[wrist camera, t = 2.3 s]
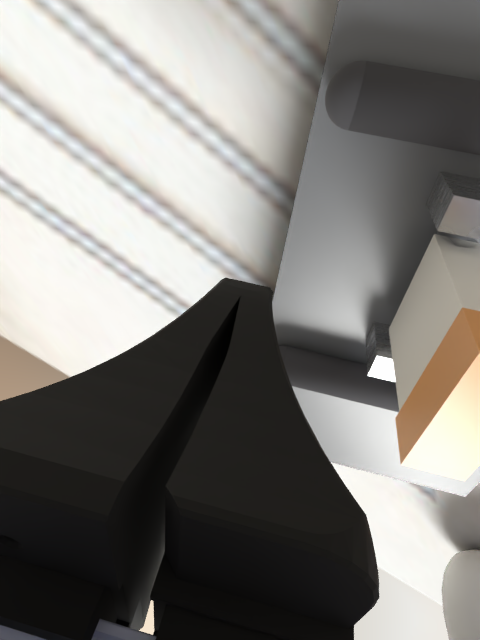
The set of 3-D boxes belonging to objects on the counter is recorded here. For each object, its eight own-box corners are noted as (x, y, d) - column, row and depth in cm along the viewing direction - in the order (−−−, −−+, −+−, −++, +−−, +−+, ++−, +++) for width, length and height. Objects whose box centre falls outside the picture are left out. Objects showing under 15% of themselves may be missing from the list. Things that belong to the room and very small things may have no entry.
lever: (482, 232, 12) (566, 372, 8) (426, 330, 15) (465, 481, 10) (429, 221, 12) (480, 352, 8) (383, 320, 15) (400, 464, 10)
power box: (802, 20, 11) (1064, 27, 7) (453, 448, 23) (474, 536, 19) (351, -47, 12) (353, -76, 8) (251, 397, 24) (234, 471, 20)
